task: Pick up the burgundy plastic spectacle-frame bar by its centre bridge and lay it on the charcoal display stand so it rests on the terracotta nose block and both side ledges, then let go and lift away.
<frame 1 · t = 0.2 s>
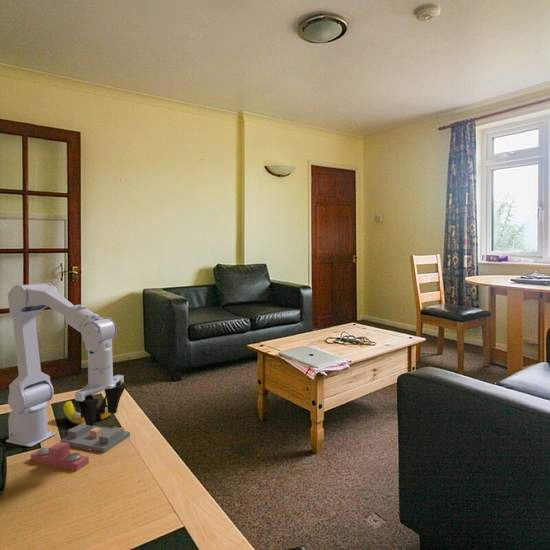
hand: (101, 418, 98), 10 cm above the table, tool pointing down, fingers open, 7 cm apart
frame bar: (59, 463, 96), on the table
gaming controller: (91, 418, 123), on the table
display stand: (96, 440, 107), on the table
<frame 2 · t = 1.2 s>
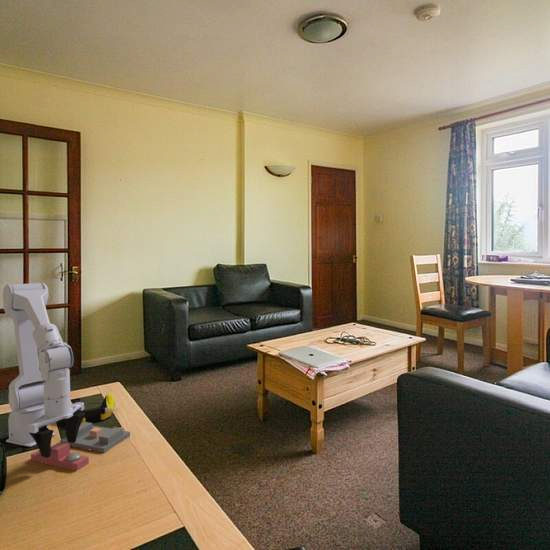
hand: (59, 448, 96), 3 cm above the table, tool pointing down, fingers open, 7 cm apart
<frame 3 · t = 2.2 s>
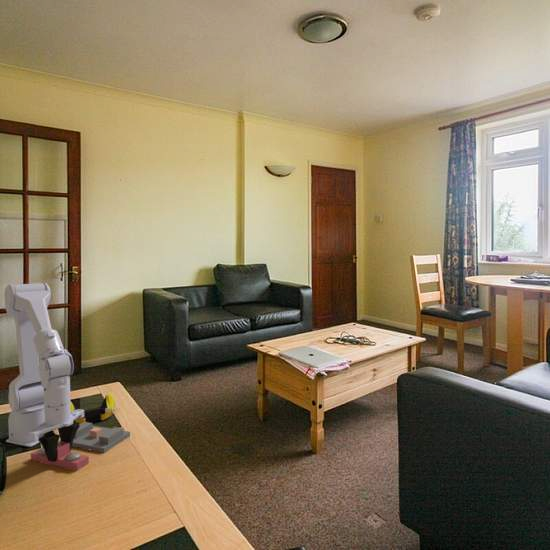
hand: (59, 456, 96), 1 cm above the table, tool pointing down, fingers closed on frame bar, 3 cm apart
frame bar: (59, 462, 96), on the table, touching gripper
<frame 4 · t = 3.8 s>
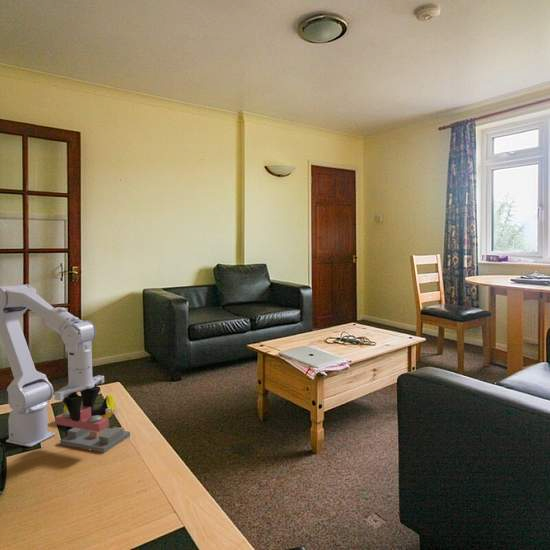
hand: (81, 417, 103), 8 cm above the table, tool pointing down, fingers closed on frame bar, 3 cm apart
frame bar: (82, 425, 103), point 6 cm above the table, touching gripper
when the fingers open (5 cm above the table, at t = 5.2 s): frame bar stays where it is, resting on display stand.
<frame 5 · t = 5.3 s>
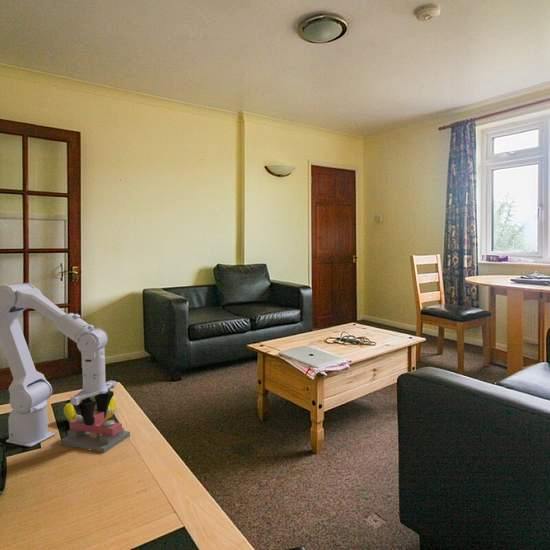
hand: (95, 421, 107), 5 cm above the table, tool pointing down, fingers open, 4 cm apart
frame bar: (95, 429, 107), point 3 cm above the table, touching display stand
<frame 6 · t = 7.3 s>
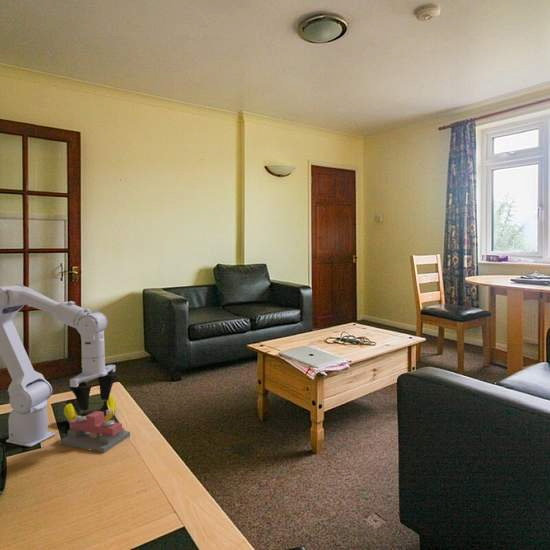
hand: (94, 404, 107), 10 cm above the table, tool pointing down, fingers open, 7 cm apart
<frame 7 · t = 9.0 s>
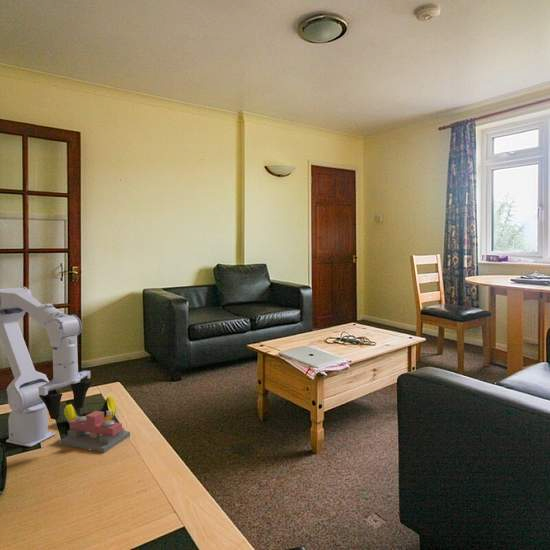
hand: (67, 412, 101), 10 cm above the table, tool pointing down, fingers open, 7 cm apart
at the end: frame bar 0.0 cm off-centre on the display stand, point 3.0 cm above the display stand's base; frame bar tilted 0°; the gripper is holding nothing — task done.
